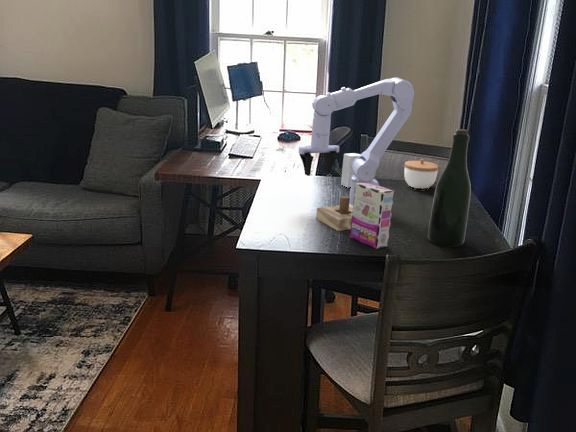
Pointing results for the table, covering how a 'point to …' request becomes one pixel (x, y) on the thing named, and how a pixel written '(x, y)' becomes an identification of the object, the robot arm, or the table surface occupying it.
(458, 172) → the beer bottle
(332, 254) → the table surface
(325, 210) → the holder block
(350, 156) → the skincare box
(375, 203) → the candy bar box
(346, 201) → the peg
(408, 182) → the lidded bowl
